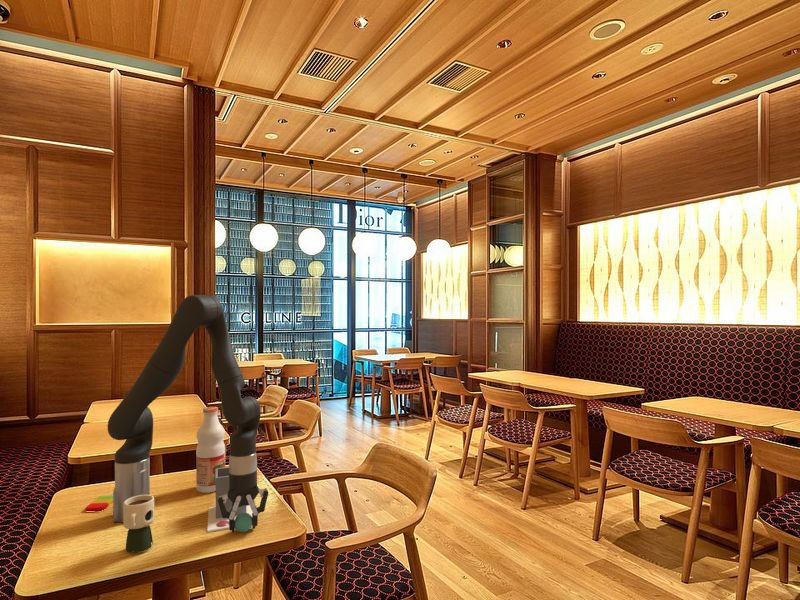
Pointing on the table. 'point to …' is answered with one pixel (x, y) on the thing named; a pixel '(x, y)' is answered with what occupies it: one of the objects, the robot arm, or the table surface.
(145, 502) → the character mug
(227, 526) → the tube card
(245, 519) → the teal ball
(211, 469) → the strawberry milk bottle
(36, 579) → the table surface
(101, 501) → the popsicle
